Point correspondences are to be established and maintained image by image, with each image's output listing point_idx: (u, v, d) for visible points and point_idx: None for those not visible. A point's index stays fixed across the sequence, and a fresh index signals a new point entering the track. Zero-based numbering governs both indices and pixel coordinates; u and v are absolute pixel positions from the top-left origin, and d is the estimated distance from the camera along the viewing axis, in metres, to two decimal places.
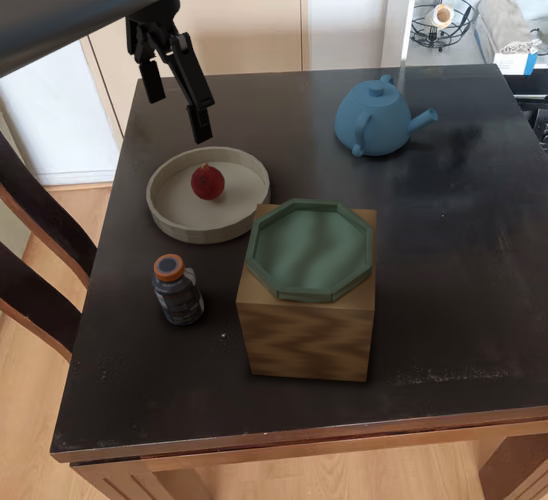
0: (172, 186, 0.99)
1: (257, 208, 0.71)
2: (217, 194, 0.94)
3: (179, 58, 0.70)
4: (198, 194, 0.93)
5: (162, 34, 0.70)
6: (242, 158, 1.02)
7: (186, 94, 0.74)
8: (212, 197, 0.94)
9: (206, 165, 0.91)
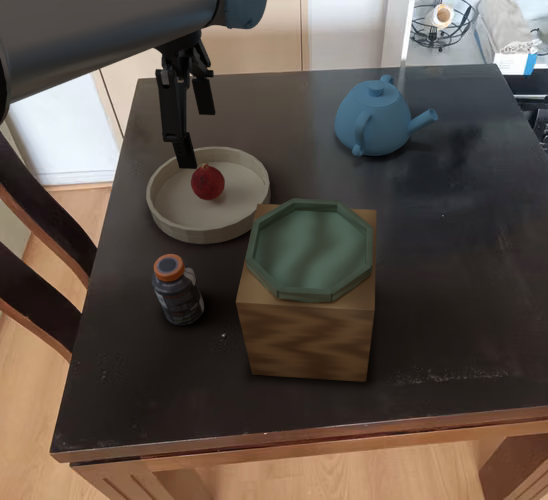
0: (172, 186, 0.99)
1: (257, 208, 0.71)
2: (217, 194, 0.94)
3: (158, 89, 0.72)
4: (198, 194, 0.93)
5: (162, 62, 0.73)
6: (242, 158, 1.02)
7: None
8: (212, 197, 0.94)
9: (206, 165, 0.91)
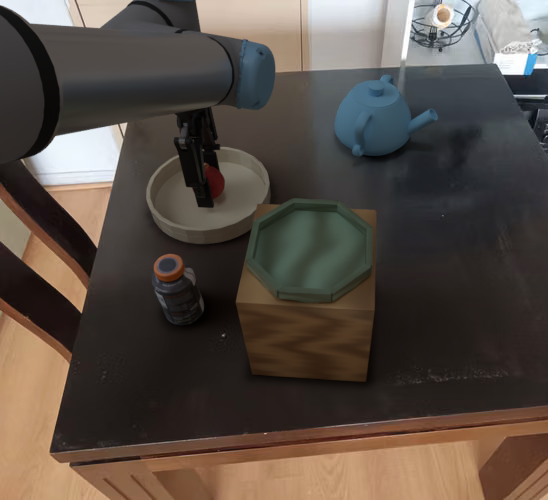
0: (172, 186, 0.99)
1: (257, 208, 0.71)
2: (217, 194, 0.94)
3: (178, 152, 0.81)
4: None
5: (178, 123, 0.80)
6: (242, 158, 1.02)
7: None
8: (212, 197, 0.94)
9: (206, 165, 0.91)
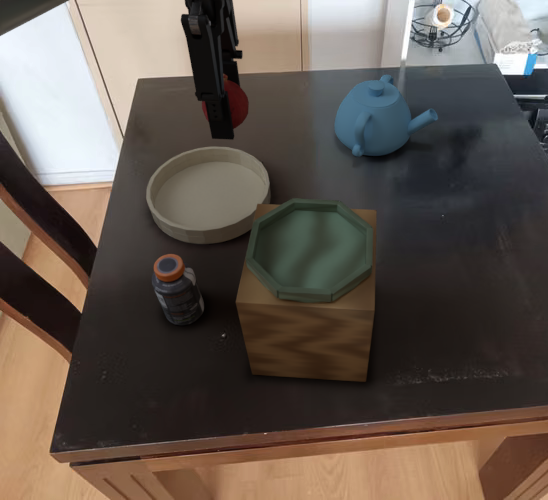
0: (172, 186, 0.99)
1: (257, 208, 0.71)
2: (239, 120, 0.67)
3: (187, 40, 0.55)
4: None
5: None
6: (242, 158, 1.02)
7: None
8: None
9: (223, 76, 0.65)
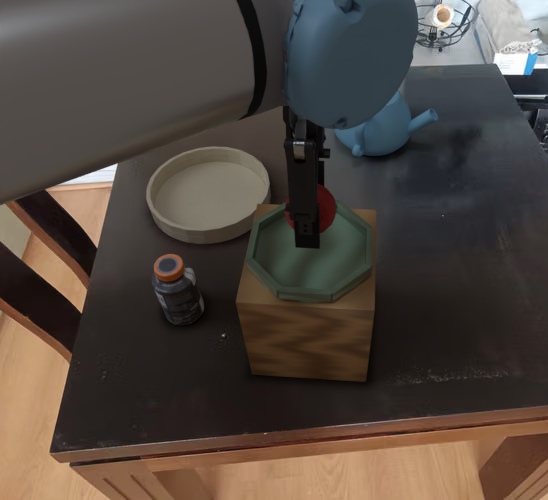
0: (172, 186, 0.99)
1: (257, 208, 0.71)
2: (326, 227, 0.60)
3: (287, 164, 0.47)
4: None
5: (289, 115, 0.47)
6: (242, 158, 1.02)
7: None
8: None
9: None
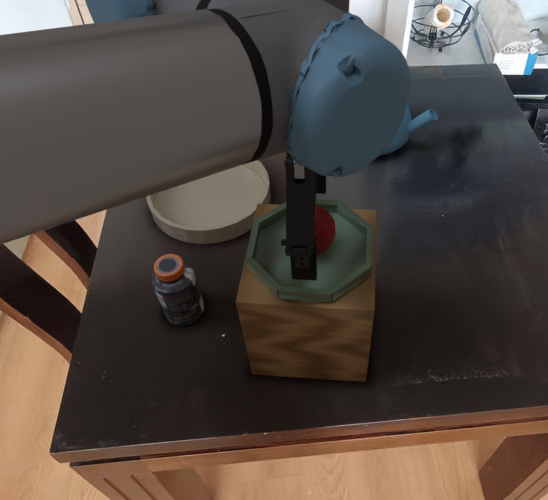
0: None
1: (257, 208, 0.71)
2: (326, 247, 0.63)
3: (287, 185, 0.48)
4: None
5: None
6: None
7: None
8: (319, 252, 0.62)
9: None
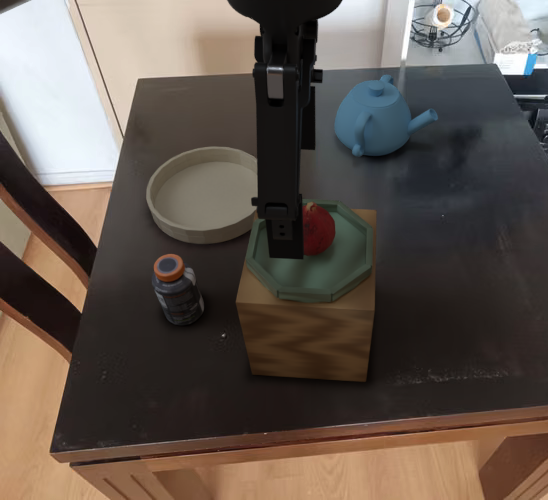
0: (172, 186, 0.99)
1: None
2: (326, 247, 0.63)
3: (257, 108, 0.32)
4: None
5: (263, 49, 0.33)
6: (242, 158, 1.02)
7: None
8: (319, 252, 0.62)
9: (313, 205, 0.60)
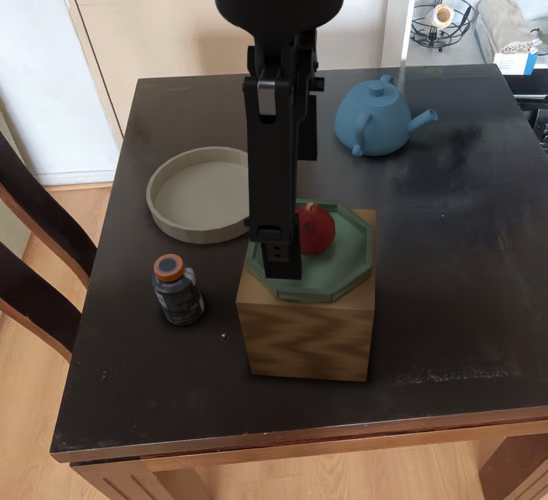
0: (172, 186, 0.99)
1: None
2: (326, 247, 0.63)
3: (248, 125, 0.30)
4: None
5: (255, 61, 0.31)
6: (242, 158, 1.02)
7: None
8: (319, 252, 0.62)
9: (313, 205, 0.60)
